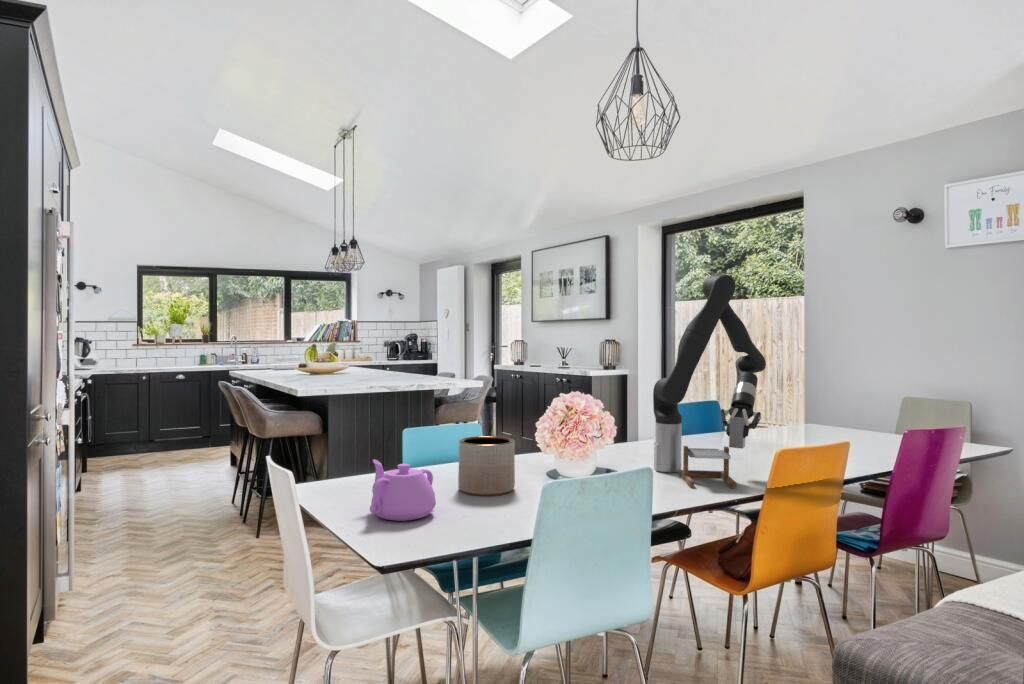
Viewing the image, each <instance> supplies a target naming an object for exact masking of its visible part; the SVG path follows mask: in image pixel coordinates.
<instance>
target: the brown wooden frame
mask: <svg viewBox="0 0 1024 684" xmlns="http://www.w3.org/2000/svg"><path fill="white" fill-rule="evenodd" d="M688 448H689V446H688V445H683V459H682V461H683V462H682V463H683V464H682V465H683V468H682V469H681V470H680V472H679V474H680V478H681V479H682V480H683V481H684V482H685V483H686V485H687V486H688V488H690V489H694V488H695V482H694V480H693V479H692V478H720V479H721V480H723V482H725V483H726V484H727V485H728V487H730V488H731V489H733V490H737V484H738V483H737V482H736V481H735V480H734V479H733V478H732V477H731V476H730V459H723V470H695V469H693V470H691V469H690V470H689V456H688V452H690V450H688ZM723 451H725V452H726V453H728V454H729V455H730V447H729V446H723Z"/></svg>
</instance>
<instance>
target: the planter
mask: <svg viewBox="0 0 1024 684" xmlns="http://www.w3.org/2000/svg"><path fill="white" fill-rule="evenodd" d="M515 443H516V442H515V439H513V438H509V437H506V436H497V435H493V436H492V435H478V436H477V435H475V436H467V437H463V438H461V439H459V441H458V475H457V477H458V479H457V480H458V483H457V485H458V489H459V490H460V491H461V492H463V493H465V494H468V495H473V496H480V497H481V496H484V497H487V496H489V497H491V496H500V495H501V496H502V495H505V494H508V493H510V492H512V491H513V490H514V489H515V483H516V478H515V477H516V474H515V473H516V470H515V469H516V468H515V466H516V465H515V462H516V460H515V454H516V453H515V452H516V451H515V450H516V449H515V446H516V445H515Z"/></svg>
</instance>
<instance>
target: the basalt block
mask: <svg viewBox="0 0 1024 684" xmlns="http://www.w3.org/2000/svg"><path fill="white" fill-rule="evenodd" d="M729 419H730V434H729V436H728V437H729V438H728V440H729V442H728V447H729V448H734V449H741V450H742V449H745V448H746V438H743V432H744V426H745V419H746V418H741V417H731V418H730V417H729Z"/></svg>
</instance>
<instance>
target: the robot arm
mask: <svg viewBox="0 0 1024 684" xmlns="http://www.w3.org/2000/svg"><path fill="white" fill-rule="evenodd" d="M702 292H703V294H704V297H705V298H706V302H705V304H704V306H703V307H702V308H701V310H699V312H698V313H697V314H696V315H694V317H693V319H692V320H690V322H689V323H688V324H687V326H686V327H685V329H684V332H683V334H682V336H681V338H680V340H679V342H678V349H677V356H676V357H677V358H676V362H675V365H674V368H673V369H672V371H671V373H670V374H669V376H668V377H663V378H660V379H658V380H657V381H655V384H654V387H653V392H652V395H653V396H652V397H653V399H652V400H653V401H652V402H653V413H654V419H655V429H654V431H655V433H654V434H655V436H654V437H655V439H654V440H655V442H653V446H654V447H653V450H654V452H653V468H654V470H655V471H656V472H661V473H678V472H679V473H680V470H682V437H683V436H682V434H683V433H682V429H683V428H682V425H683V422H682V420H683V419H682V418H683V417H682V414H681V413H680V411H679V407H678V405H679V404H680V403H681V402H682V401H683V400H684V399H685V396H686V394H687V391H688V390H689V389H688V388H689V386H690V382H691V380H692V377H693V375H694V372H695V370H696V368H697V366H698V365H699V362H700V360H701V359H702V358H701V357H702V356H703V354H704V352H705V350H706V348H707V345H708V344H709V342H710V340H711V337H712V336H713V333H714V331H715V329H716V327H717V325H718V323H719V321H720V323H721V324H722V326H723V328H724V330H725V332H726V334H727V336H728V339H729V341H730V344H731V346H732V348H733V351H734V352H735V353H743V354H746V355H741V356H739V357H738V358H737V359H736V361H735V370H736V378H737V379H736V382H735V383H736V384H735V388H734V390H733V394H732V399H731V403H730V407H729V408H728V409H724V408H722V409H720V415H721V421H722V426H723V427H726V429H725V433H726V436H727V437H729V434H730V418H731V417H741V418H746V419H745V426H744V432H743V438H745V439H746V438H747V437H748V436H749V433H750V430H755V429H756V428H757V426H758V425H759V423H760V421H761V419H762V414H761V412H760V411H757V412H755V411H754V406H755V402H756V398H757V397H756V395H757V388H758V387H757V386H758V377H757V375H756V373H760V372H763V371H765V369H766V368H767V367H766V365H767V361H766V358H765V357H764V355H763V354H762V352H761V351H760V350H759V349H758V348H757V346H756V345H755V344H754V343H753V341H752V338H751V337H750V335H749V332H748V329H747V327H746V326H745V324H744V322H743V320H741V318H740V317H739V316H738V315H737V313H736V312H735V311H734V309H733V308H732V307H731V304H730V301H731V299H732V298H733V296H734V294H735V292H736V281H735V279H734V277H733V276H731V275H729V274H717V275H715V274H714V275H710V276H707V277H706V278H705V279H704V281H703V283H702ZM728 415H729V416H730V417H729V420H728V421H727V419H726V418H727V416H728ZM752 417H753V419H752V421H751V422H749V420H750V419H751V418H752Z"/></svg>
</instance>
